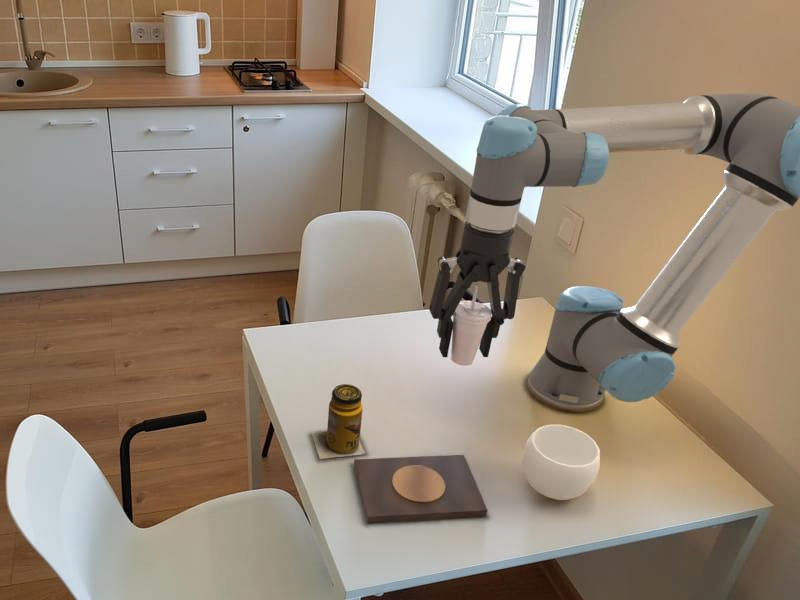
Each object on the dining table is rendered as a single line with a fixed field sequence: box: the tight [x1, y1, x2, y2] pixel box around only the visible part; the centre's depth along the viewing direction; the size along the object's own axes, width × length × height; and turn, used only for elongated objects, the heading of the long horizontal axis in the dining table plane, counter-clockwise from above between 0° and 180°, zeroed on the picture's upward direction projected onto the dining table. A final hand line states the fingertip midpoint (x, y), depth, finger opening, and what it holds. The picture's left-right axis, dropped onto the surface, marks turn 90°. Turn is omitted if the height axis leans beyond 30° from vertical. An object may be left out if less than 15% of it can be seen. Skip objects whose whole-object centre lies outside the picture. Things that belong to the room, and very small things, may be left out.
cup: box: [522, 424, 601, 501], centre depth 124 cm, size 12×12×10 cm
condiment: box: [311, 383, 366, 460], centre depth 130 cm, size 7×8×12 cm
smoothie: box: [450, 283, 492, 367], centre depth 119 cm, size 6×6×14 cm
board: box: [353, 454, 488, 524], centre depth 124 cm, size 20×14×2 cm
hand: (463, 352), depth 122 cm, fingers closed on smoothie, 6 cm apart
